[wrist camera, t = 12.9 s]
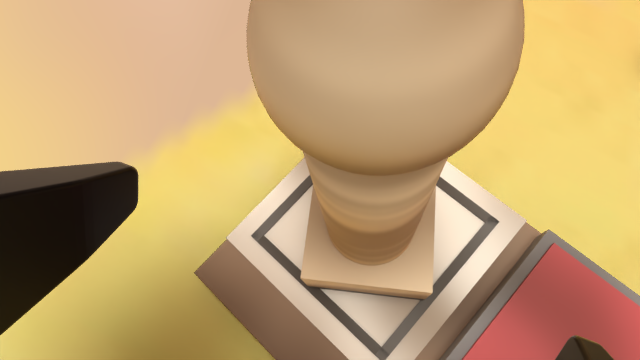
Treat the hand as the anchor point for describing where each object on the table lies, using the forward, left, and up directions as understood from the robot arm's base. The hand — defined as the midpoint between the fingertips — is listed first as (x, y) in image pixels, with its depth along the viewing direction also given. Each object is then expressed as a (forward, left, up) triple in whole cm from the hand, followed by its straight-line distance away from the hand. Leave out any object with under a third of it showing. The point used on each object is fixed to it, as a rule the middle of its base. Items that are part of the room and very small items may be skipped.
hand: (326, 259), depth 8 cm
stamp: (+2, +1, -10) cm, 10 cm away
